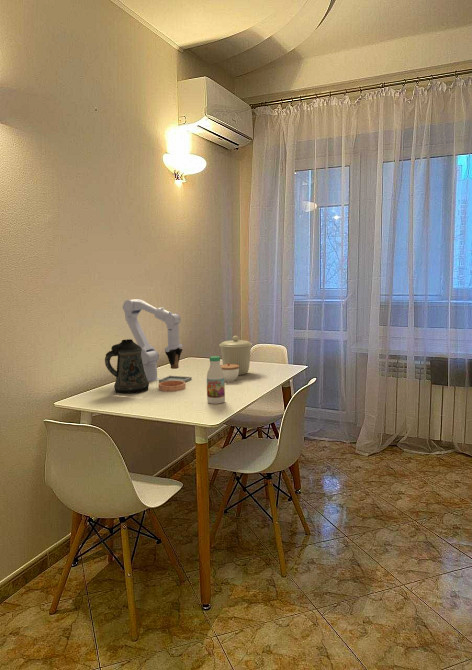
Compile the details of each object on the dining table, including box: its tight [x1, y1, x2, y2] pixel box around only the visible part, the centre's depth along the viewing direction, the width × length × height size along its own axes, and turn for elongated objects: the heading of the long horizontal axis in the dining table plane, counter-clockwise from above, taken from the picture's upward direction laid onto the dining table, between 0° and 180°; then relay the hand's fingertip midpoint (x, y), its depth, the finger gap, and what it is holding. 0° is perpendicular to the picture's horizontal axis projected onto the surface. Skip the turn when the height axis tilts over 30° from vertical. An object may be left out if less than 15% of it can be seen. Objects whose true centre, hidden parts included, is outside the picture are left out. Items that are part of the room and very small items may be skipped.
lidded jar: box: [220, 363, 239, 383], centre depth 268 cm, size 11×11×9 cm
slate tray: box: [158, 375, 193, 384], centre depth 267 cm, size 13×11×2 cm
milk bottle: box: [206, 355, 226, 405], centre depth 224 cm, size 8×8×20 cm
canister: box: [218, 335, 253, 376], centre depth 284 cm, size 18×18×21 cm
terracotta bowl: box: [158, 381, 186, 392], centre depth 252 cm, size 13×13×3 cm
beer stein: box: [104, 338, 150, 395], centre depth 247 cm, size 16×19×25 cm
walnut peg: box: [170, 354, 180, 370], centre depth 265 cm, size 4×4×7 cm
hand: (174, 363), depth 265 cm, fingers closed on walnut peg, 4 cm apart
